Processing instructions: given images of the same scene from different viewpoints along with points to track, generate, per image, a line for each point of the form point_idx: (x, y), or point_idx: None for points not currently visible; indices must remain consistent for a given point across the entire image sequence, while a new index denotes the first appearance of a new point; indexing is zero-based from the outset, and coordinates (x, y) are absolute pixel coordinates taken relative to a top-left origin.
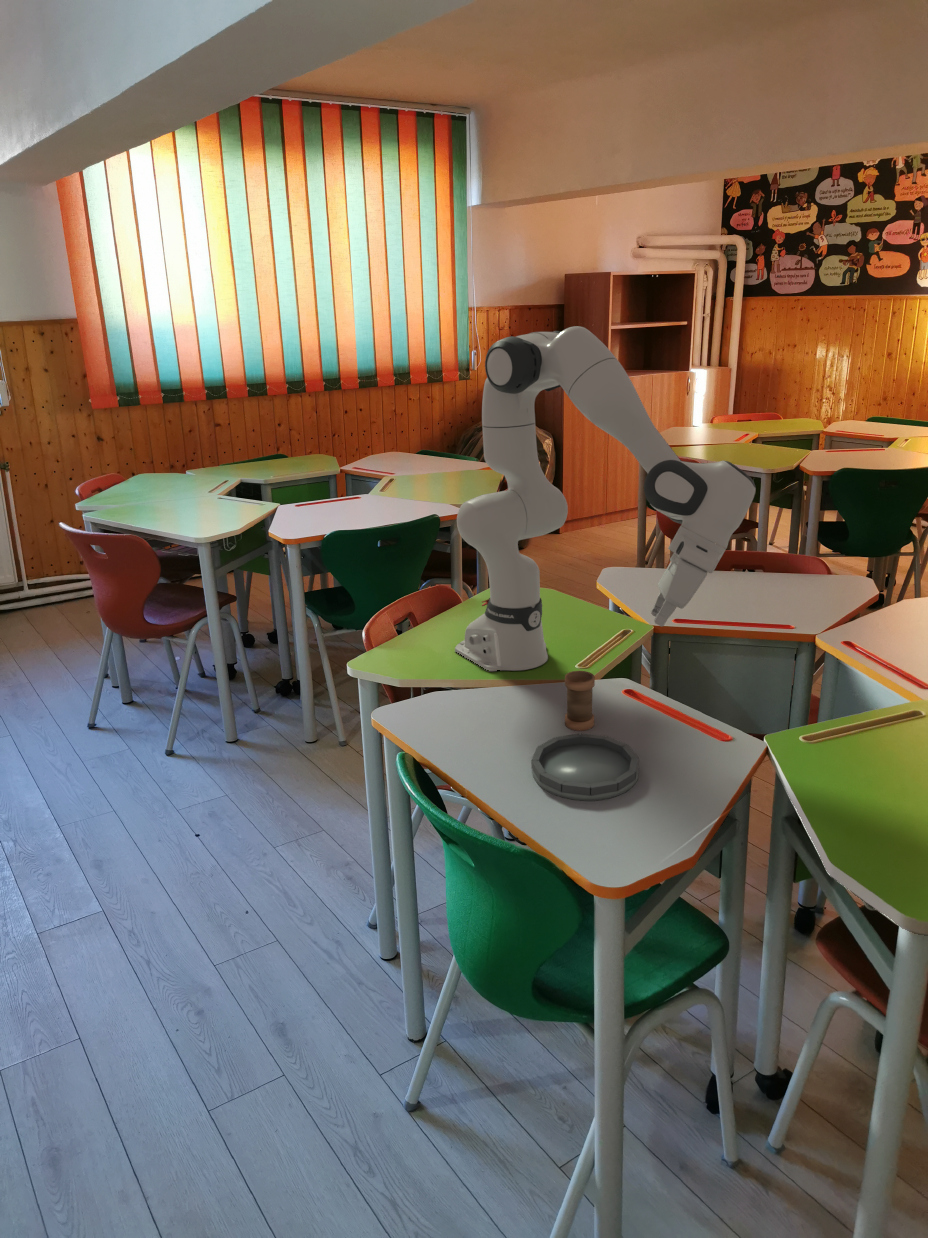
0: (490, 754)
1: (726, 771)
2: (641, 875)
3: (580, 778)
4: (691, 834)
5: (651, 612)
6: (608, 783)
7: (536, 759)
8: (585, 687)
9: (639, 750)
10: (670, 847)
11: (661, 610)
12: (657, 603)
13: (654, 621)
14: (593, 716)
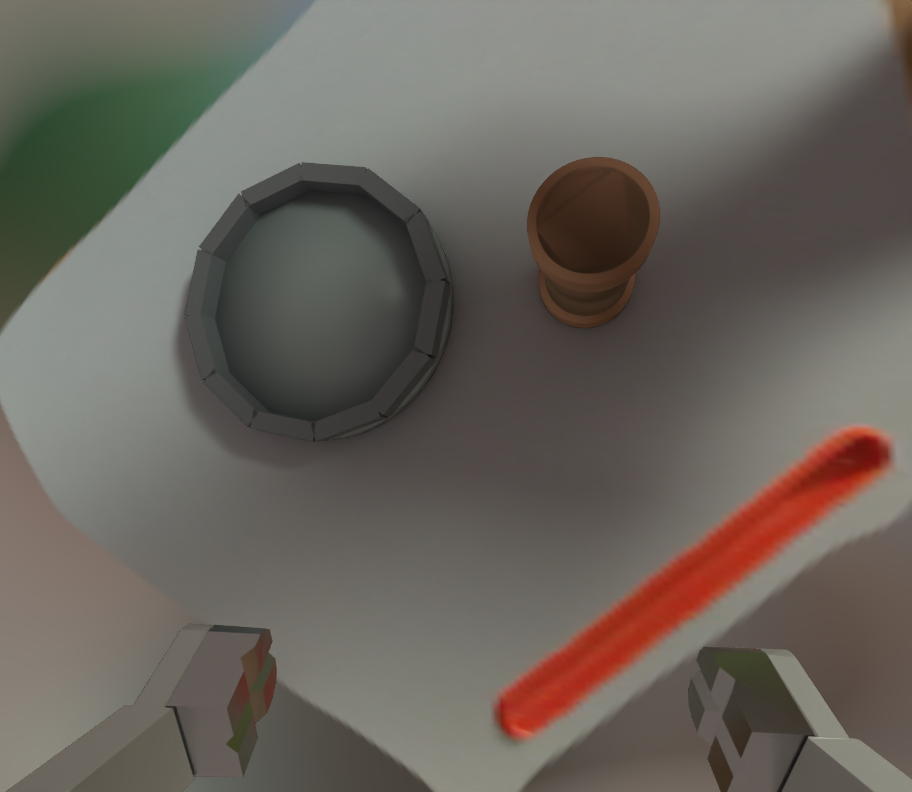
0: (408, 65)
1: (337, 667)
2: (8, 416)
3: (266, 295)
4: (108, 527)
5: (716, 652)
6: (201, 358)
7: (304, 174)
8: (533, 254)
9: (437, 453)
10: (74, 478)
11: (60, 758)
12: (834, 781)
13: (211, 625)
14: (588, 320)
